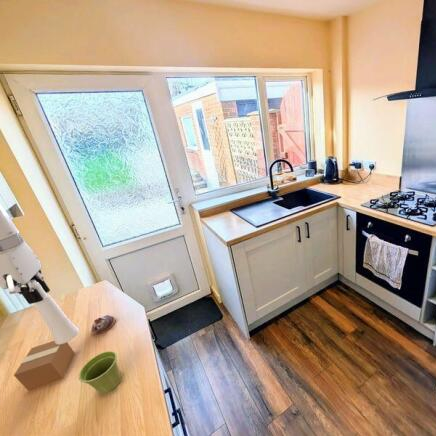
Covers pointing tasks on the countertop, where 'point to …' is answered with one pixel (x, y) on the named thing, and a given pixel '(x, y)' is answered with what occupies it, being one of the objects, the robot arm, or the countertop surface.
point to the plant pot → (101, 372)
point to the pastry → (102, 324)
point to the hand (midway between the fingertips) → (39, 296)
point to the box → (44, 365)
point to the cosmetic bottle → (54, 317)
